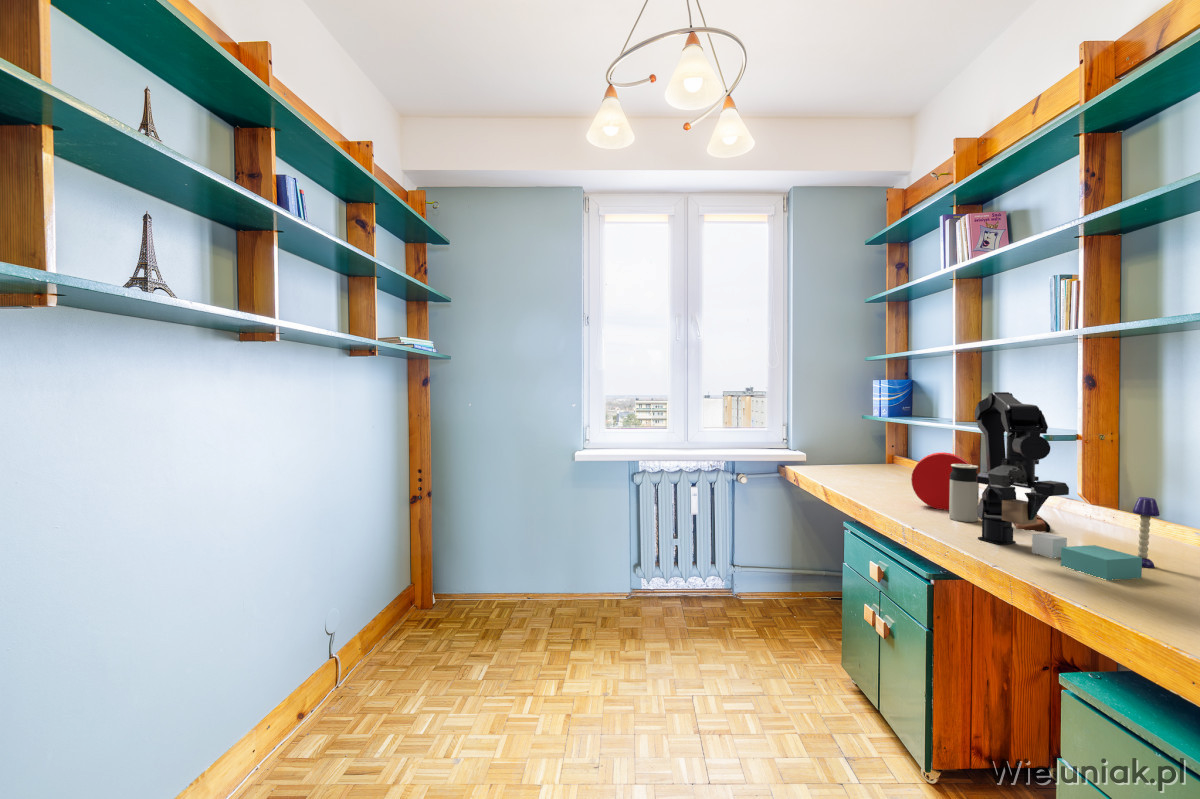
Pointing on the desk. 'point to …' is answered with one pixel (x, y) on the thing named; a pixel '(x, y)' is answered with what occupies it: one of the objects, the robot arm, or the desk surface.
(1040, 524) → the sunglasses case
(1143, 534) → the toy lamp
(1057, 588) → the desk surface
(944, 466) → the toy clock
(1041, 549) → the grey cube
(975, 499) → the travel mug
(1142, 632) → the desk surface
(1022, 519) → the walnut cube
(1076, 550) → the teal base block
